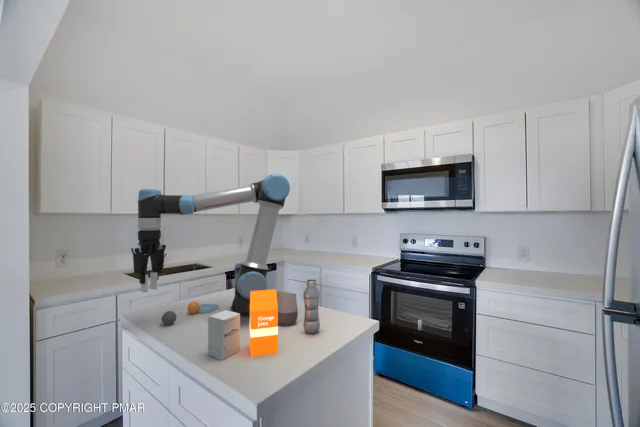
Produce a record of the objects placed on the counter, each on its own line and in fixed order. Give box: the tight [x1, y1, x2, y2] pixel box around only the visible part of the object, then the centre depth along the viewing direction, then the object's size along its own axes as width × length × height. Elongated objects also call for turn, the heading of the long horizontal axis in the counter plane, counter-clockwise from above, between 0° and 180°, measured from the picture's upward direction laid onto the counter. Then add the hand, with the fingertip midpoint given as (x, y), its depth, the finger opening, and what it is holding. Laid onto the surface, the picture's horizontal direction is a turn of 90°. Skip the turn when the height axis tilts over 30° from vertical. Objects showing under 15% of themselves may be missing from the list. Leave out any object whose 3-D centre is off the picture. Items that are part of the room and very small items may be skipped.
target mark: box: [195, 303, 220, 315], centre depth 136 cm, size 14×14×1 cm
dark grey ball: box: [161, 310, 178, 326], centre depth 116 cm, size 6×6×6 cm
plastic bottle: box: [302, 279, 321, 334], centre depth 109 cm, size 6×7×20 cm
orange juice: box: [249, 288, 279, 357], centre depth 95 cm, size 8×9×20 cm
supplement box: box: [207, 309, 241, 361], centre depth 92 cm, size 7×7×13 cm
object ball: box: [186, 300, 201, 315], centre depth 130 cm, size 6×6×6 cm
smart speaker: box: [276, 290, 299, 327], centre depth 118 cm, size 10×9×14 cm
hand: (149, 290), depth 107 cm, fingers open, 3 cm apart
